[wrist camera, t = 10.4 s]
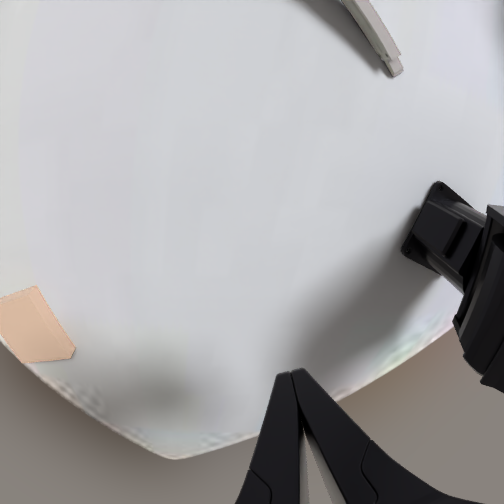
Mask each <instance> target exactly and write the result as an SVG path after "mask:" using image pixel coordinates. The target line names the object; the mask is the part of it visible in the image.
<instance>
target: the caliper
mask: <svg viewBox="0 0 504 504" xmlns="http://www.w3.org/2000/svg"><path fill="white" fill-rule="evenodd" d="M341 1H342V3H343V4H344V5H345V7H346V8H347V9H348V11H349V12H350V14H351V15H352V17H353V18H354V20H355V21H356V23H357V24H358V26H359V27H360V29H361V30H362V32H363V33H364V35H365V36H366V38H367V40H368V41H369V43H370V44H371V45H372V47H373V48H374V50H375V51H376V52H377V54H378V55H379V57H380V58H381V60H383V61H385V63H386V65H387V67H388V69H389V71H390V73H391V74H392V76H393V77H395V76H397V75H398V74H400V73H401V72H403V66H402V64H401V62H400V60H399V58H398V56H400V55H401V53H400V51H399V49H398V48H397V46H396V44H395V42H394V40H393V39H392V37H391V35H390V33H389V32H388V30H387V28H386V27H385V25H384V23H383V22H382V20H381V18H380V17H379V15H378V14H377V12H376V11H375V9H374V8H373V6H372V5H371V3H370V2H369V0H341Z"/></svg>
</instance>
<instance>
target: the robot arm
mask: <svg viewBox="0 0 504 504" xmlns="http://www.w3.org/2000/svg"><path fill="white" fill-rule="evenodd" d="M439 187H440V190H439ZM486 213H487V216H486V215H484V214H482V213H480V212H478V211H477V210H475V209H474V208H473V207H471V206H470V205H469V204H468V203H467V202H466V201H465V200H464V199H462V198H461V197H460V196H459V195H458V194H457V193H455V192H454V191H453V190H452V189H451V188H450V187H448V186H447V185H446V184H445V183H443V182H441V181H437V182H436V183H435V184H434V186H433V188H432V190H431V192H430V194H429V197H428V199H427V201H426V203H425V205H424V207H423V209H422V211H421V213H420V215H419V217H418V219H417V220H416V222H415V224H414V226H413V228H412V230H411V232H410V234H409V235H408V237H407V239H406V241H405V243H404V244H403V246H402V249H401V252H402V254H403V255H404V256H405V257H407V258H409V259H411V260H413V261H415V262H417V263H419V264H421V265H423V266H425V267H427V268H429V269H431V270H432V271H434V272H436V273H438V274H440V275H442V276H443V277H444V278H446V279H447V280H448V281H449V282H450V283H451V284H452V285H453V286H454V287H455V288H456V289H458V290H459V291H460V292H461V293H462V294H463V295H464V296H463V299H462V301H461V304H460V307H459V309H458V312H457V314H456V315H455V316H454V318H453V321H452V322H453V325H454V327H455V330H456V332H457V335H458V337H459V341H460V343H461V345H462V348H463V350H464V354H463V357H464V359H465V361H466V362H467V363H468V364H469V366H470V367H471V368H472V369H473V370H474V371H476V372H477V373H478V374H479V375H481V376H483V377H482V379H481V380H480V383H481V384H483V385H486V386H489V387H493V388H495V389H497V390H499V391H501V392H503V393H504V206H497V205H487V211H486ZM408 248H409V250H408V251H407V249H408ZM406 251H407V252H406ZM302 424H303V425H302ZM303 428H304V430H303ZM304 432H305V435H306V438H307V440H308V443H309V445H310V448H311V450H312V453H313V455H314V458H315V461H316V463H317V466H318V468H319V471H320V473H321V476H322V478H323V481H324V483H325V486H326V488H327V490H328V493H329V495H330V498H331V500H332V503H333V504H483V503H478V502H473V501H469V500H464V499H460V498H456V497H452V496H449V495H447V494H444V493H442V492H440V491H438V490H436V489H435V488H433V487H431V486H430V485H428V484H427V483H425V482H424V481H422V480H421V479H419V478H418V477H416V476H415V475H413V474H412V473H411V472H409V471H408V470H406V469H405V468H404V467H402V466H401V465H400V464H398V463H397V462H396V461H395V460H393V459H392V458H391V457H390V456H389V455H387V454H386V453H385V452H384V451H383V450H382V449H381V448H380V447H379V446H378V445H377V444H376V443H375V442H374V441H373V440H370V437H369V436H368V435H367V434H366V433H365V432H364V431H363V430H362V429H361V428H360V427H359V426H358V425H357V424H356V423H355V422H354V421H353V420H352V419H351V418H350V417H349V416H348V415H347V413H346V412H345V411H344V410H343V409H342V408H341V407H340V406H339V405H338V404H337V403H336V402H335V401H334V400H333V399H332V398H331V397H330V396H329V395H328V393H327V392H326V391H325V390H324V389H323V388H322V387H321V386H320V385H319V384H318V383H317V382H316V381H315V379H314V378H313V377H312V376H311V375H310V374H309V373H308V372H307V371H306V370H305V369H304V368H299V369H295V370H292V371H291V373H290V372H289V371H287V372H283V373H279V374H277V375H276V378H275V382H274V386H273V389H272V393H271V396H270V400H269V403H268V407H267V410H266V414H265V417H264V421H263V424H262V427H261V431H260V434H259V437H258V441H257V444H256V447H255V450H254V453H253V457H252V460H251V463H250V466H249V470H248V472H247V475H246V478H245V481H244V483H243V486H242V489H241V491H240V494H239V496H238V498H237V500H236V502H235V504H309V491H308V476H307V461H306V448H305V437H304Z"/></svg>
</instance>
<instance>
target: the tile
mask: <svg viewBox="0 0 504 504" xmlns="http://www.w3.org/2000/svg"><path fill="white" fill-rule="evenodd" d="M0 334H1V335H2V337H3V338H4V340H5V341H6V342H7V344H8V345H9V347H10V348H11V349H12V351H13V352H14V353H15V355H16V356H17V357H18V359H19V360H20V361H21V362H22V363H31V362H42V361H52V360H61V359H69V358H71V356H72V354H73V352H74V350H75V348H76V347H75V345H74V344H73V343H72V341H71V340H70V338H69V337H68V335H67V334H66V332H65V331H64V329H63V328H62V326H61V325H60V323H59V322H58V320H57V319H56V317H55V315H54V314H53V312H52V311H51V309H50V307H49V306H48V304H47V302H46V301H45V299H44V297H43V295H42V294H41V292H40V290H39V288H38V287H37V285H35V286H32V287H30V288H27V289H24V290H21V291H18V292H15V293H13V294H10V295H7V296H4V297H2V298H0Z"/></svg>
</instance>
